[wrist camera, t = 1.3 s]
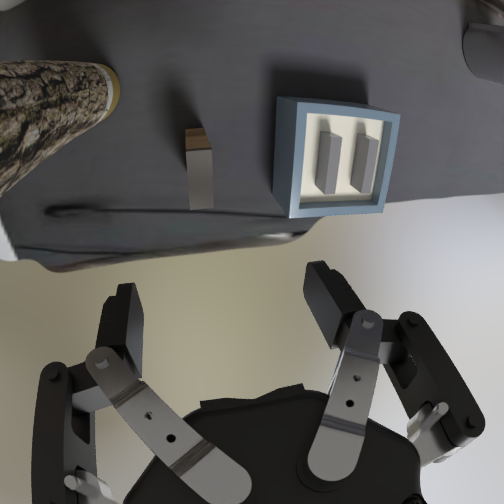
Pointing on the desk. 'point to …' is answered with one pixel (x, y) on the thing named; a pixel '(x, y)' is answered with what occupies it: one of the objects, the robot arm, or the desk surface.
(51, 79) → the bark log cylinder
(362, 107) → the blue open box
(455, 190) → the desk surface
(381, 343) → the robot arm
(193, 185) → the wooden plank
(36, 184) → the desk surface
